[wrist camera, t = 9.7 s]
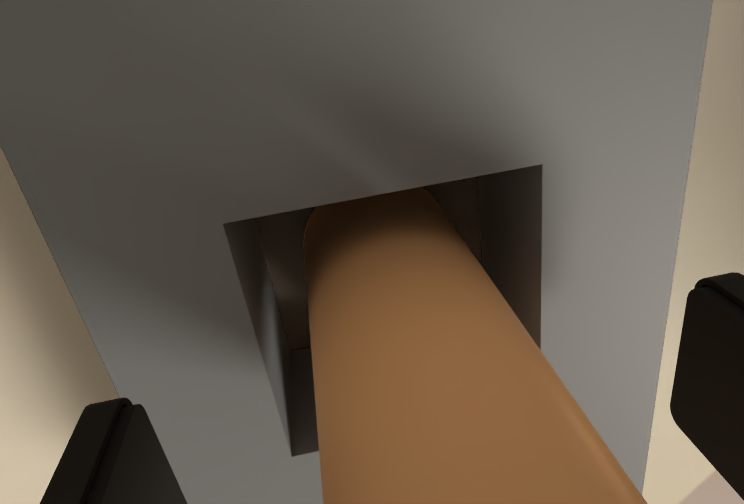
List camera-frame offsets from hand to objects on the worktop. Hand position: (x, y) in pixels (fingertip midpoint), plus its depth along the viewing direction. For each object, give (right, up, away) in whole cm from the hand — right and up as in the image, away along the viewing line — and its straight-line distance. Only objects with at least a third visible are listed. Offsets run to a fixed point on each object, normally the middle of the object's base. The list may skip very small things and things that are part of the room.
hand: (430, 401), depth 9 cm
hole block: (-1, +3, +6) cm, 6 cm away
